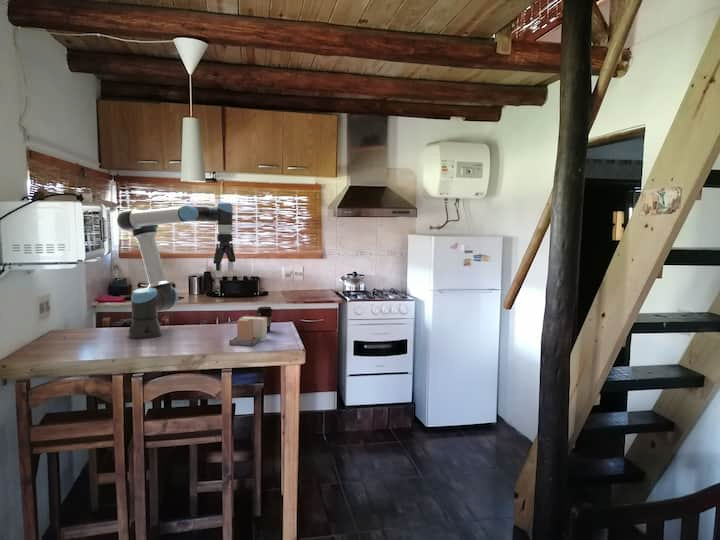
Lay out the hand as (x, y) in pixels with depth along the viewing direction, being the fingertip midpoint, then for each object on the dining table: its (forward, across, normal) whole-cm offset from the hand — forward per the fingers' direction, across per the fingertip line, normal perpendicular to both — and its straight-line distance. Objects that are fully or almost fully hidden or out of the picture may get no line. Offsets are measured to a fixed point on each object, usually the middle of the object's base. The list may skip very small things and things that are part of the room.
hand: (224, 275), depth 243 cm
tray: (+31, -13, -16) cm, 37 cm away
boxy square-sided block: (+31, -4, -17) cm, 35 cm away
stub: (+30, -14, -17) cm, 37 cm away
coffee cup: (+31, +14, -16) cm, 38 cm away
